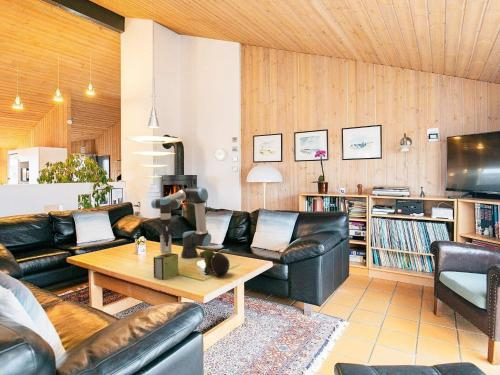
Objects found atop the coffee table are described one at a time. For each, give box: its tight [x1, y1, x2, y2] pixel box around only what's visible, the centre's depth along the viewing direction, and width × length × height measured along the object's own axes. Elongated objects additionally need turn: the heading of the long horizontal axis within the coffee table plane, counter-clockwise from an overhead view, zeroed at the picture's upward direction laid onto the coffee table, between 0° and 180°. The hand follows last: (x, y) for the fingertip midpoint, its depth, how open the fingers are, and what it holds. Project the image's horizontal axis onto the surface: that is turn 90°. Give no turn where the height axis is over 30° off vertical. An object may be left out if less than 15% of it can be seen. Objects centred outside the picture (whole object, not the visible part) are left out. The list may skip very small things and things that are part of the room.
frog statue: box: [199, 249, 231, 278], centre depth 234 cm, size 19×16×25 cm
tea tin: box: [159, 234, 173, 255], centre depth 230 cm, size 7×7×12 cm
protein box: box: [153, 252, 179, 281], centre depth 231 cm, size 10×15×16 cm
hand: (165, 249), depth 230 cm, fingers closed on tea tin, 7 cm apart
